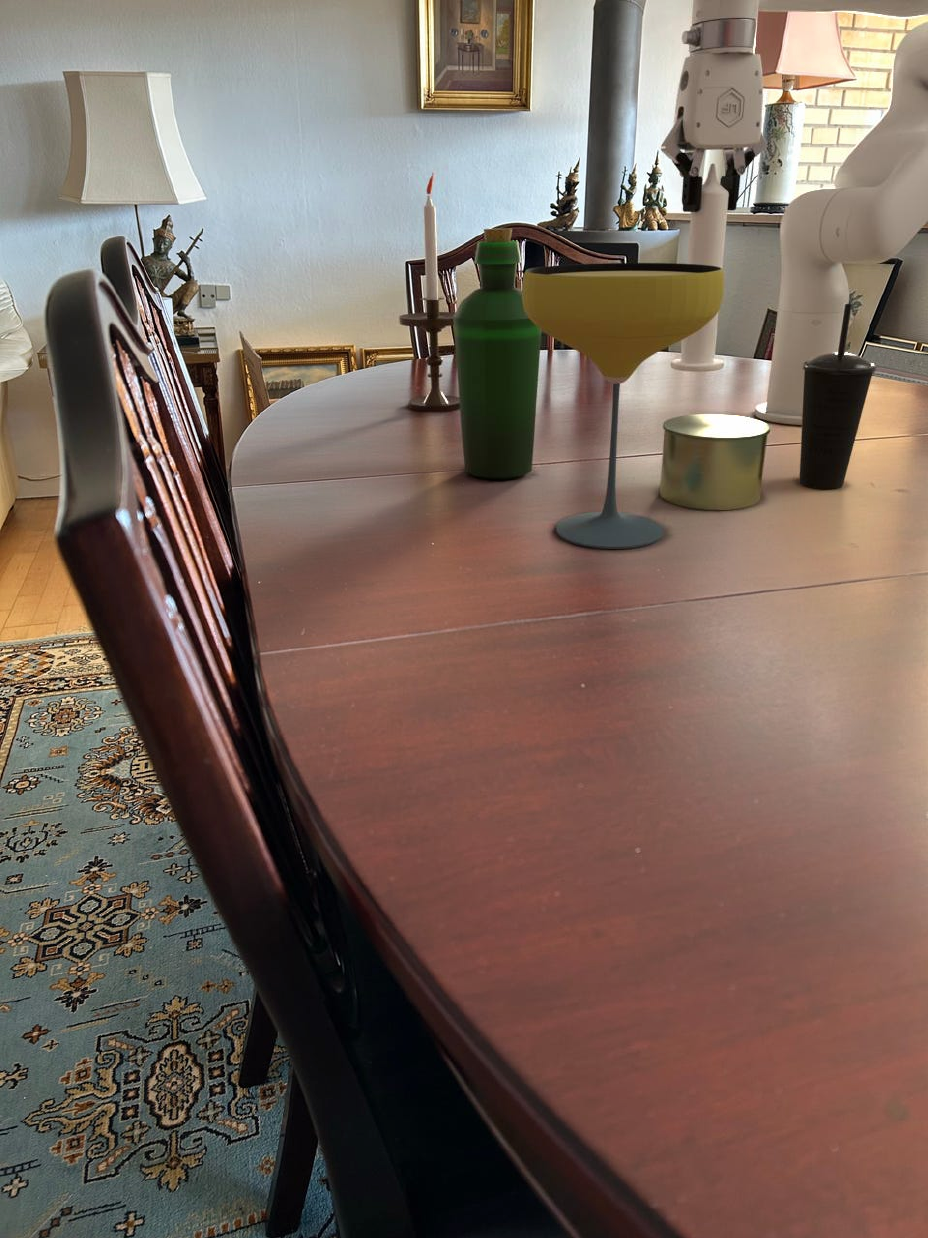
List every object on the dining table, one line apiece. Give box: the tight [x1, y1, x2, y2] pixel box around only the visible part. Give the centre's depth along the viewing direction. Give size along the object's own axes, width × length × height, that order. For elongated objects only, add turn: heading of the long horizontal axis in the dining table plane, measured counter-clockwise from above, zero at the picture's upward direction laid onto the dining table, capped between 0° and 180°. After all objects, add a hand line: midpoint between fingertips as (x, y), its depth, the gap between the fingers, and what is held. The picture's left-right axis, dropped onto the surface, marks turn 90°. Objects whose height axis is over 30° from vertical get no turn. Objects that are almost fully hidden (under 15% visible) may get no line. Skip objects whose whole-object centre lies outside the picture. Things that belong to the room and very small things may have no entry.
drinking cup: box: [798, 303, 877, 490], centre depth 101 cm, size 8×8×20 cm
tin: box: [659, 413, 771, 511], centre depth 100 cm, size 11×11×8 cm
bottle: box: [453, 228, 542, 481], centre depth 106 cm, size 11×11×28 cm
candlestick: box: [398, 172, 460, 413], centre depth 142 cm, size 11×11×35 cm
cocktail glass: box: [521, 262, 725, 550], centre depth 86 cm, size 18×18×25 cm
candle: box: [670, 163, 729, 373], centre depth 117 cm, size 7×7×25 cm
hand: (709, 209), depth 114 cm, fingers closed on candle, 4 cm apart
